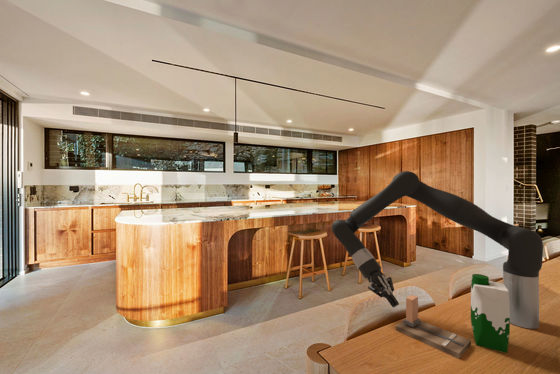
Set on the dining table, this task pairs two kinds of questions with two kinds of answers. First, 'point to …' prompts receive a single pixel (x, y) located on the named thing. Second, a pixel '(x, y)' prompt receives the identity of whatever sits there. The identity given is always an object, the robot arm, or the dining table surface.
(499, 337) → the milk carton
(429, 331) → the console
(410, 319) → the fader
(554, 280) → the dining table surface
